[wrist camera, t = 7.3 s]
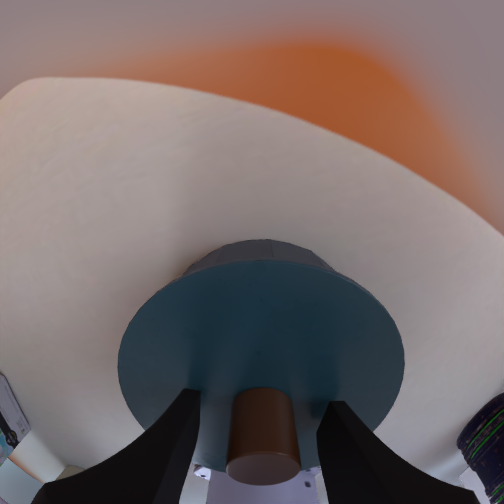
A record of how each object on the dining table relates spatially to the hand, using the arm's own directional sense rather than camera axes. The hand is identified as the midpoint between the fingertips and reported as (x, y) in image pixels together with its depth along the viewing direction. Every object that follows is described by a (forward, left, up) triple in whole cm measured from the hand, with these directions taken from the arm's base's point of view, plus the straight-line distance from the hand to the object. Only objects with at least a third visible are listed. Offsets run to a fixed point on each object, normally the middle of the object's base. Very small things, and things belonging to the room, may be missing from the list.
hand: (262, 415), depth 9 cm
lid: (0, 0, -1) cm, 1 cm away
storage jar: (-34, -4, -7) cm, 35 cm away
